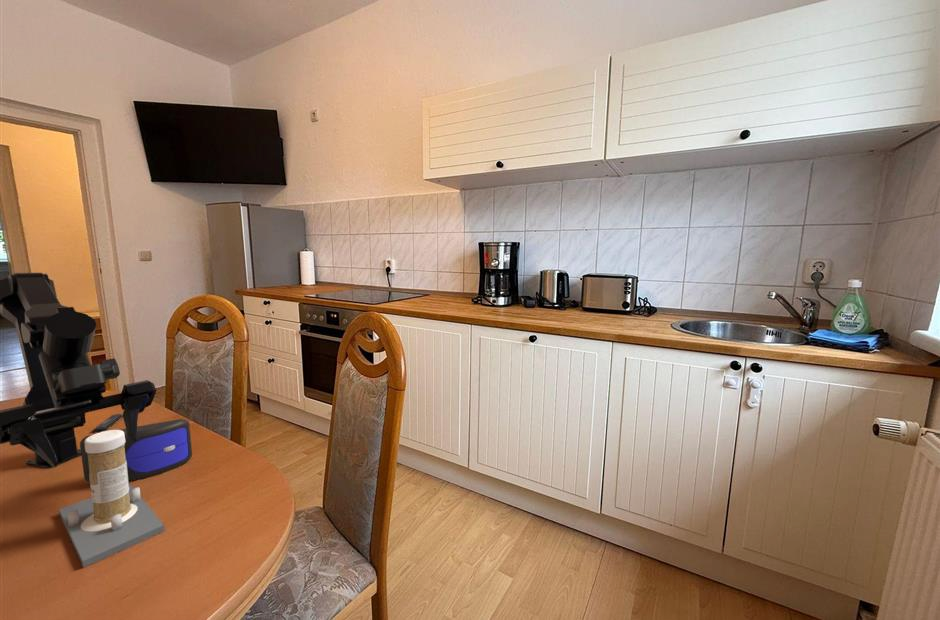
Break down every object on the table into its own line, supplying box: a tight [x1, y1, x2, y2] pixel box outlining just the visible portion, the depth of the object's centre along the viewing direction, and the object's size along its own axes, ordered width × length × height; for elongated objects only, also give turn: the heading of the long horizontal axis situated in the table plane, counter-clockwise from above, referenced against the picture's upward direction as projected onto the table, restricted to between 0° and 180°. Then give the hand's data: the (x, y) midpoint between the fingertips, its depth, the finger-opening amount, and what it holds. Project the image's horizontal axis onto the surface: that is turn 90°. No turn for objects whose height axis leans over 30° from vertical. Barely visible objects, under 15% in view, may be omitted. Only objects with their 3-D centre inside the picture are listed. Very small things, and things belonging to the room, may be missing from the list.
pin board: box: [58, 483, 166, 569], centre depth 61 cm, size 18×9×3 cm, turn 54°
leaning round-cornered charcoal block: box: [79, 418, 193, 484], centre depth 74 cm, size 16×5×9 cm, turn 123°
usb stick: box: [92, 413, 123, 434], centre depth 96 cm, size 10×3×2 cm, turn 21°
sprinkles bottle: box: [84, 429, 131, 523], centre depth 61 cm, size 5×5×13 cm
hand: (97, 453), depth 61 cm, fingers open, 9 cm apart
